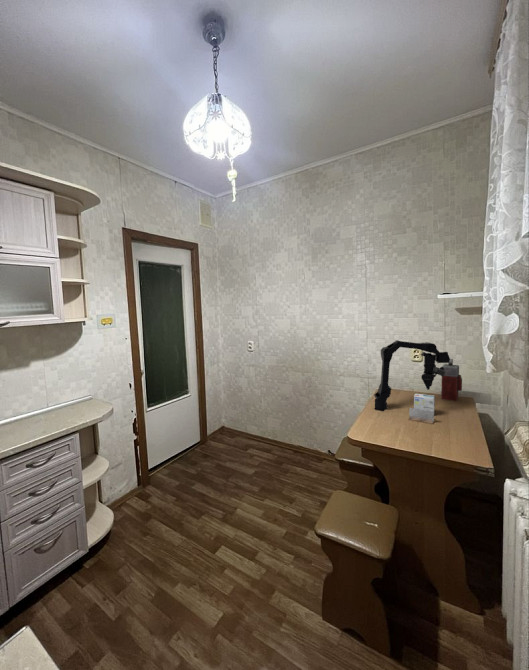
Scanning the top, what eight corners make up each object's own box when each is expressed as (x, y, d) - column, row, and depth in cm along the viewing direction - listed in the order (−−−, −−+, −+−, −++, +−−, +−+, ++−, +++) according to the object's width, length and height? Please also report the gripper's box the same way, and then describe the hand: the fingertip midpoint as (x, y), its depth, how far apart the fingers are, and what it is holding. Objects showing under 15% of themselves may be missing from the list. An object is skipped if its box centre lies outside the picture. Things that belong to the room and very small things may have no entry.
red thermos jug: (461, 402, 186) (462, 360, 184) (441, 399, 193) (441, 359, 191) (462, 399, 193) (463, 358, 191) (443, 396, 200) (444, 357, 198)
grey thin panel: (409, 418, 162) (409, 408, 161) (409, 417, 163) (409, 407, 162) (433, 422, 155) (433, 412, 154) (433, 421, 156) (433, 411, 155)
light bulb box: (434, 412, 170) (434, 395, 169) (434, 416, 164) (434, 398, 163) (414, 409, 175) (414, 392, 174) (413, 413, 170) (413, 395, 169)
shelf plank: (408, 419, 160) (408, 418, 160) (409, 418, 162) (409, 417, 162) (433, 424, 153) (433, 423, 153) (433, 422, 155) (433, 421, 155)
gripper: (443, 366, 161) (443, 393, 163) (446, 361, 176) (446, 386, 177) (421, 365, 168) (421, 390, 169) (426, 360, 183) (425, 383, 184)
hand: (429, 387), depth 175 cm, fingers open, 9 cm apart
